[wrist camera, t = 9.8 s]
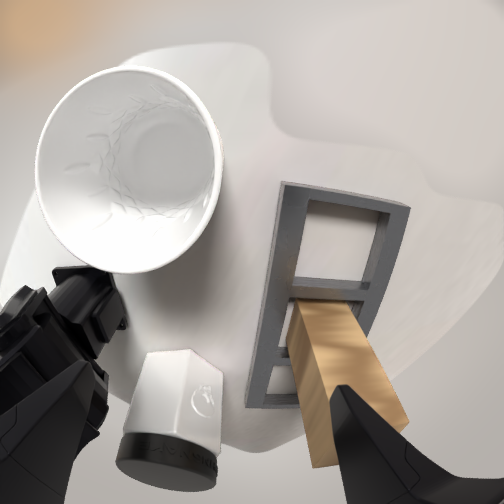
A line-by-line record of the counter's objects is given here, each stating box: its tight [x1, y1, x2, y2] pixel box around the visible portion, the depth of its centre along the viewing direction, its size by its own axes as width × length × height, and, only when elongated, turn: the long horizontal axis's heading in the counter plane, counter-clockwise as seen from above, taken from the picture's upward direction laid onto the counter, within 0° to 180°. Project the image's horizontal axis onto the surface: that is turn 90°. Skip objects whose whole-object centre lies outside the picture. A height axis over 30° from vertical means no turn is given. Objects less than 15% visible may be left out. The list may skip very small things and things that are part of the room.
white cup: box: [35, 66, 224, 274], centre depth 13 cm, size 8×8×10 cm
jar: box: [116, 349, 224, 492], centre depth 20 cm, size 9×8×12 cm
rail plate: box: [245, 181, 411, 408], centre depth 23 cm, size 10×23×2 cm, turn 173°
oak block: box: [286, 298, 409, 468], centre depth 18 cm, size 4×4×13 cm
